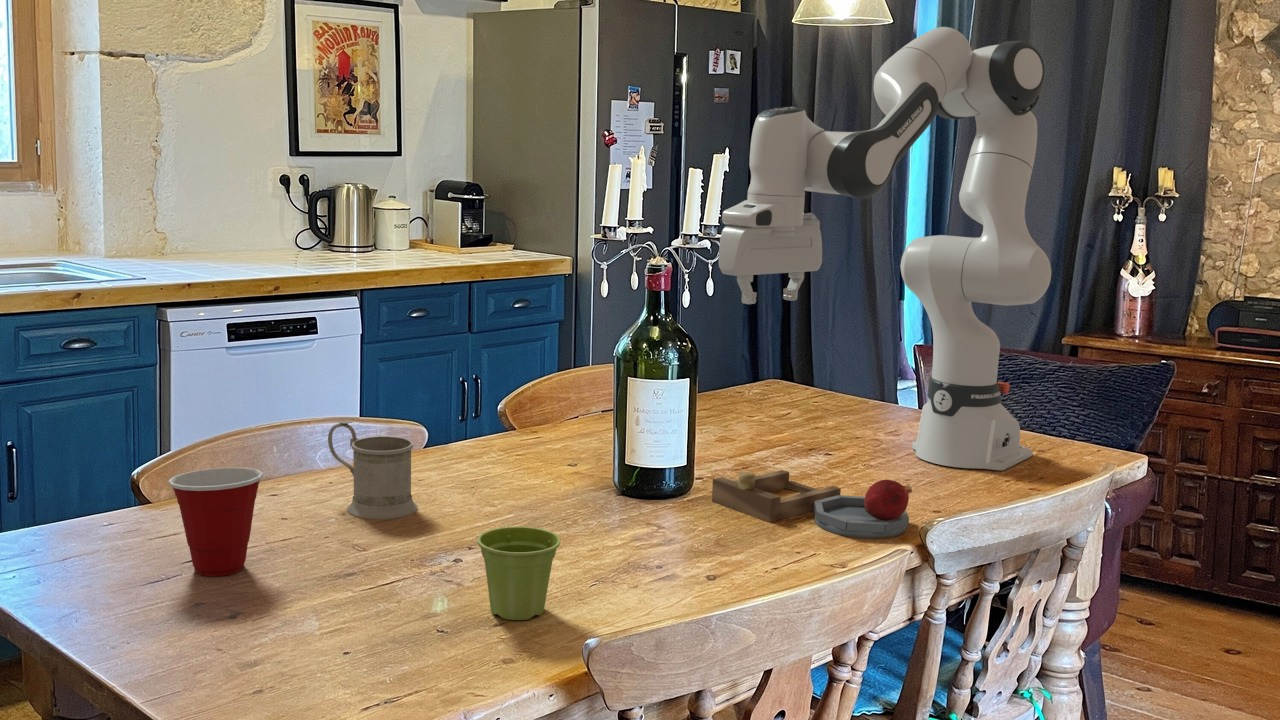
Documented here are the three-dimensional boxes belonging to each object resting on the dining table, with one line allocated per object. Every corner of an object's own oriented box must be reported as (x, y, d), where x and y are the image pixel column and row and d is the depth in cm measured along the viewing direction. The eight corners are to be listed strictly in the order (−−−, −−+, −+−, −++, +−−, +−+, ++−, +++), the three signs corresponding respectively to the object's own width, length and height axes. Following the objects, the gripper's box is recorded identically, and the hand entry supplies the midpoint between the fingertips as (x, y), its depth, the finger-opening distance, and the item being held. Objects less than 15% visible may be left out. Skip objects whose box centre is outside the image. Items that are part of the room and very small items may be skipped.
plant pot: (478, 595, 144) (479, 525, 142) (557, 595, 145) (559, 526, 143) (474, 627, 135) (475, 552, 133) (559, 627, 135) (561, 553, 134)
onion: (867, 534, 173) (911, 511, 168) (847, 498, 174) (890, 475, 169) (884, 522, 177) (928, 500, 173) (865, 487, 178) (908, 465, 174)
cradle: (784, 484, 195) (786, 451, 194) (842, 503, 186) (844, 468, 185) (710, 501, 184) (712, 466, 183) (768, 522, 175) (771, 485, 174)
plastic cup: (241, 547, 156) (239, 457, 154) (280, 571, 149) (278, 476, 146) (157, 564, 149) (153, 470, 147) (193, 591, 141) (190, 491, 139)
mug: (430, 505, 177) (431, 425, 175) (389, 524, 168) (390, 439, 166) (350, 490, 183) (350, 412, 180) (306, 506, 174) (305, 425, 172)
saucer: (853, 505, 185) (854, 491, 185) (924, 527, 176) (925, 513, 175) (796, 520, 177) (797, 505, 176) (866, 544, 167) (868, 529, 167)
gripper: (804, 211, 198) (799, 295, 200) (714, 212, 185) (709, 302, 187) (834, 214, 193) (828, 300, 196) (744, 215, 180) (738, 308, 182)
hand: (769, 301), depth 191 cm, fingers open, 8 cm apart
